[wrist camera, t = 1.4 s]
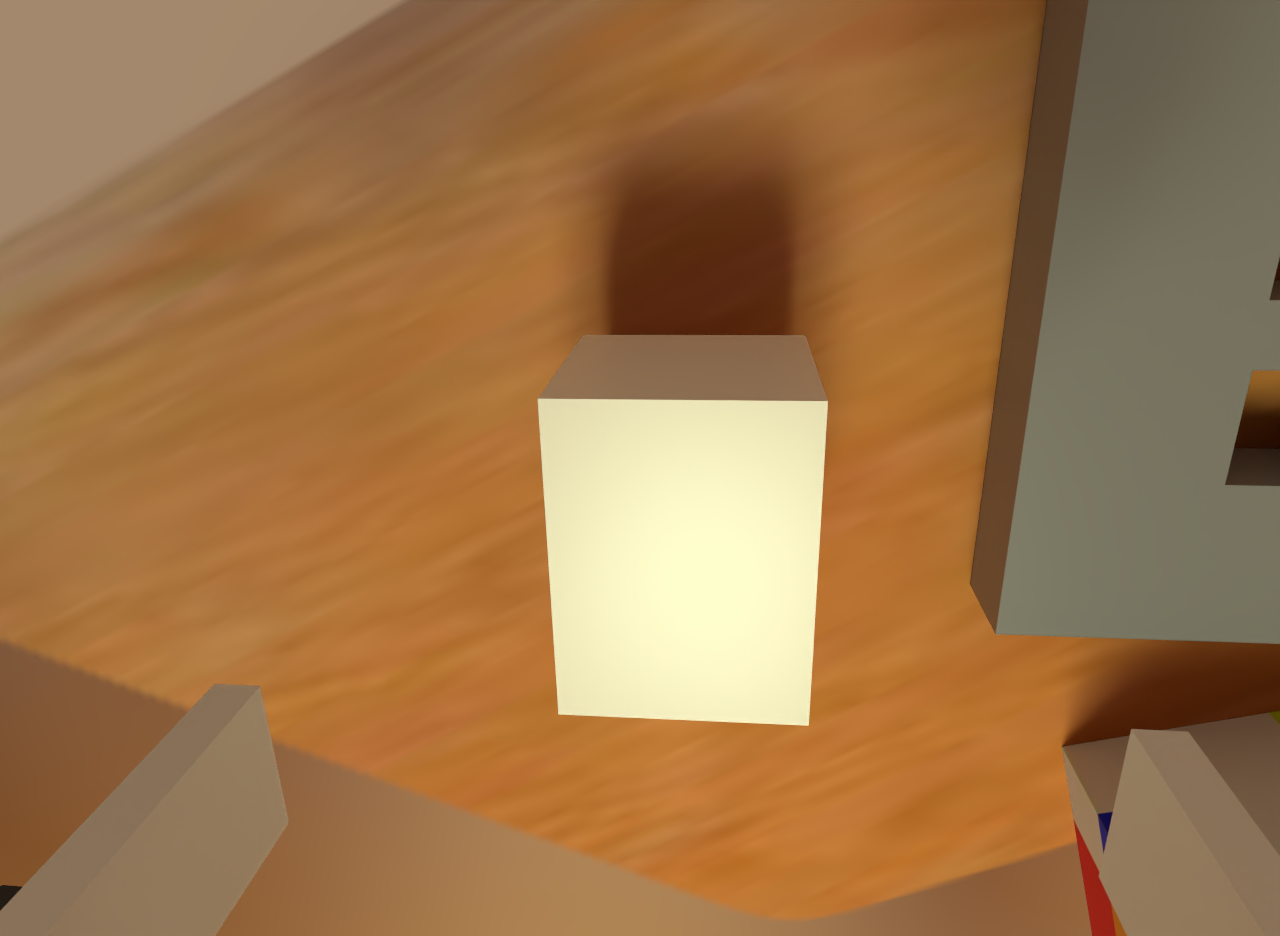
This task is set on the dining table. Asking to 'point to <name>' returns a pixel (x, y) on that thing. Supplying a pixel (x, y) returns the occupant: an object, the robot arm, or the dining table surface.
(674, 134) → the dining table surface
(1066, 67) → the socket plate
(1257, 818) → the puzzle toy
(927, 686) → the dining table surface
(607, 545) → the plug
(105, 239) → the dining table surface
